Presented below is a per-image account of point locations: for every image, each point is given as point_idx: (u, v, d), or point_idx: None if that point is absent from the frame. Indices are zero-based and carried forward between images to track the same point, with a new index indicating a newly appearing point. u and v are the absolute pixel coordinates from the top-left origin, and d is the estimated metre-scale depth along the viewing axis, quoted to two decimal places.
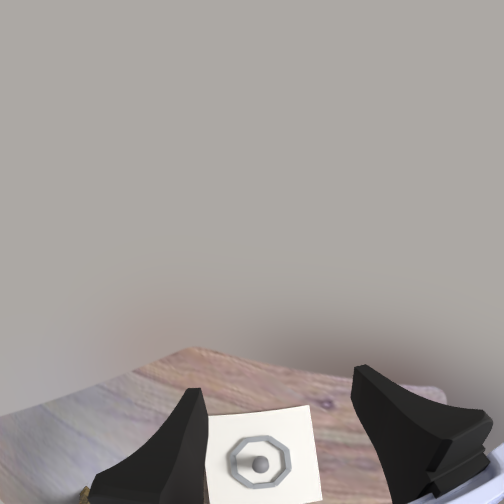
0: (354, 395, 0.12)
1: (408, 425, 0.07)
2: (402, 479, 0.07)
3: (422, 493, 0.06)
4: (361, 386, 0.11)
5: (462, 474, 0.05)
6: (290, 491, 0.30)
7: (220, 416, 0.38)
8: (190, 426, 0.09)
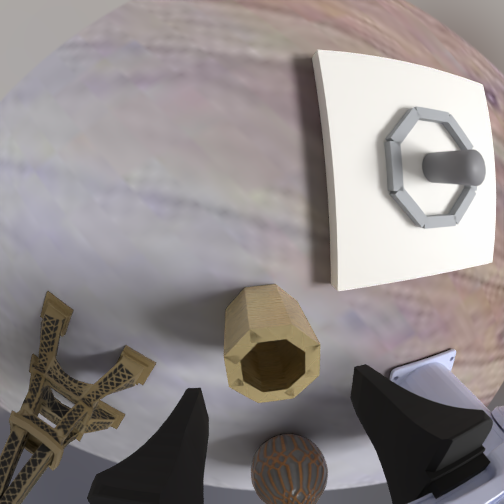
0: (354, 395, 0.12)
1: (408, 425, 0.07)
2: (402, 478, 0.07)
3: (422, 493, 0.06)
4: (361, 386, 0.11)
5: (462, 474, 0.05)
6: (464, 239, 0.19)
7: (359, 55, 0.15)
8: (190, 426, 0.09)
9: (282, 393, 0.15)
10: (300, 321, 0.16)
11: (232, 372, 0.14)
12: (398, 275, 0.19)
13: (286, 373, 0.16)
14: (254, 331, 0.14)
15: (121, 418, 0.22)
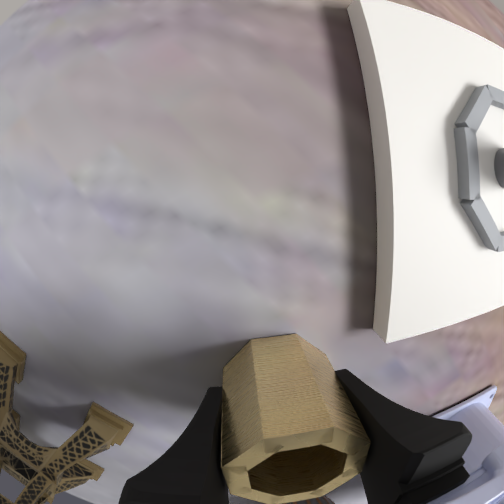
0: None
1: (382, 434, 0.07)
2: (377, 488, 0.07)
3: None
4: None
5: (438, 488, 0.05)
6: None
7: (412, 10, 0.08)
8: (217, 425, 0.09)
9: (306, 494, 0.08)
10: (340, 405, 0.09)
11: (235, 481, 0.08)
12: (460, 314, 0.12)
13: (312, 464, 0.09)
14: (271, 439, 0.07)
15: (100, 472, 0.15)
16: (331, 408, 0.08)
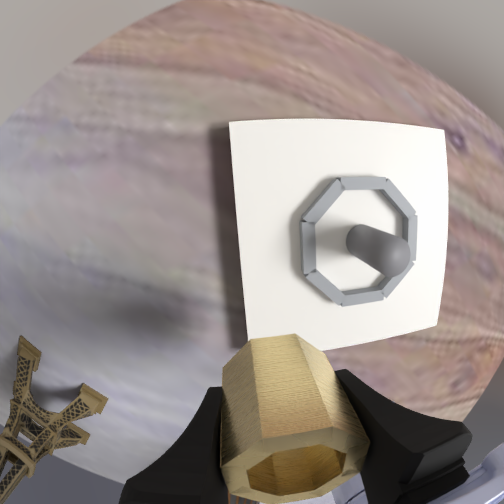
0: None
1: (382, 434, 0.07)
2: (377, 488, 0.07)
3: None
4: None
5: (438, 488, 0.05)
6: (399, 308, 0.20)
7: (278, 121, 0.16)
8: (217, 425, 0.09)
9: (306, 494, 0.08)
10: (339, 405, 0.09)
11: (234, 481, 0.08)
12: (314, 346, 0.20)
13: (311, 464, 0.09)
14: (270, 439, 0.07)
15: (87, 437, 0.23)
16: (330, 408, 0.08)
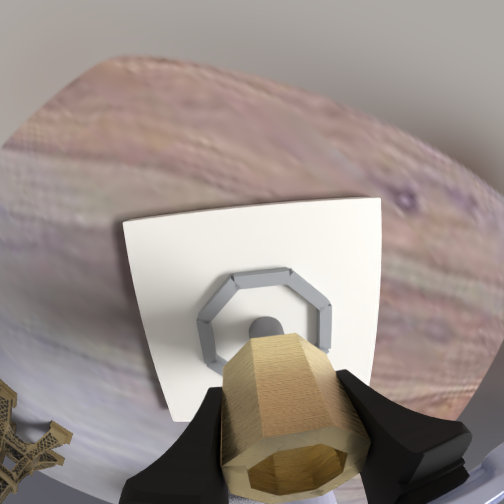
0: None
1: (382, 434, 0.07)
2: (377, 488, 0.07)
3: None
4: None
5: (438, 487, 0.05)
6: None
7: (168, 218, 0.16)
8: (217, 425, 0.09)
9: (307, 494, 0.08)
10: (340, 404, 0.09)
11: (234, 481, 0.08)
12: None
13: (312, 464, 0.09)
14: (271, 438, 0.07)
15: (62, 460, 0.23)
16: (331, 407, 0.08)
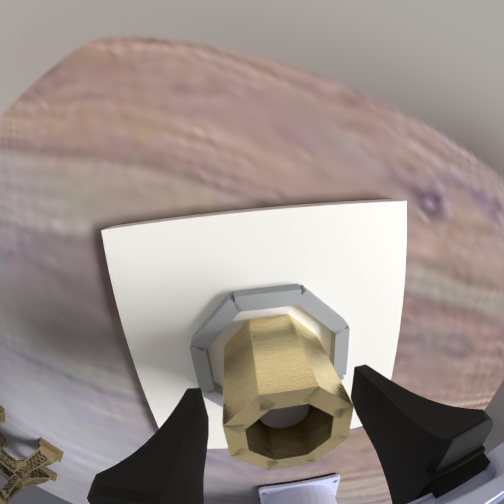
0: (354, 395, 0.12)
1: (408, 425, 0.07)
2: (402, 479, 0.07)
3: (422, 493, 0.06)
4: (361, 386, 0.11)
5: (462, 474, 0.05)
6: None
7: (155, 226, 0.13)
8: (190, 426, 0.09)
9: (299, 459, 0.10)
10: (326, 372, 0.11)
11: (234, 441, 0.10)
12: None
13: (304, 432, 0.11)
14: (265, 396, 0.09)
15: (55, 476, 0.20)
16: (317, 373, 0.10)
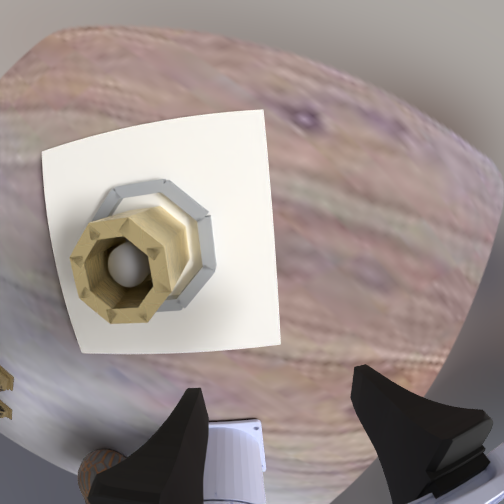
0: (354, 395, 0.12)
1: (408, 425, 0.07)
2: (402, 479, 0.07)
3: (422, 493, 0.06)
4: (361, 386, 0.11)
5: (462, 474, 0.05)
6: (215, 321, 0.20)
7: (72, 144, 0.16)
8: (190, 426, 0.09)
9: (133, 313, 0.13)
10: (155, 226, 0.13)
11: (78, 278, 0.12)
12: (130, 349, 0.20)
13: (147, 294, 0.14)
14: (93, 226, 0.12)
15: (10, 412, 0.23)
16: (140, 218, 0.13)
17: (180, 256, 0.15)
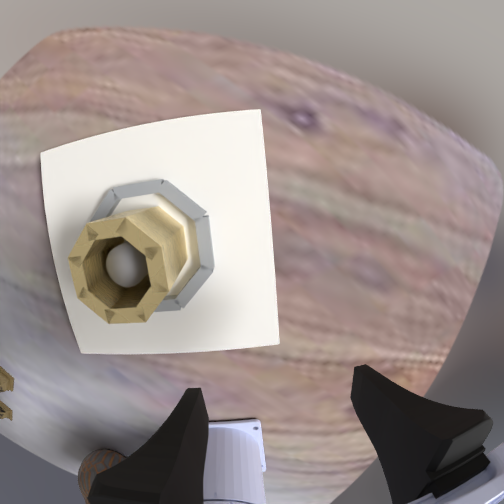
0: (354, 395, 0.12)
1: (408, 425, 0.07)
2: (402, 478, 0.07)
3: (422, 493, 0.06)
4: (361, 386, 0.11)
5: (462, 474, 0.05)
6: (213, 320, 0.20)
7: (71, 145, 0.16)
8: (190, 426, 0.09)
9: (131, 313, 0.13)
10: (152, 226, 0.14)
11: (77, 278, 0.12)
12: (129, 349, 0.20)
13: None
14: (91, 226, 0.12)
15: (10, 413, 0.23)
16: (138, 219, 0.13)
17: (178, 256, 0.16)
